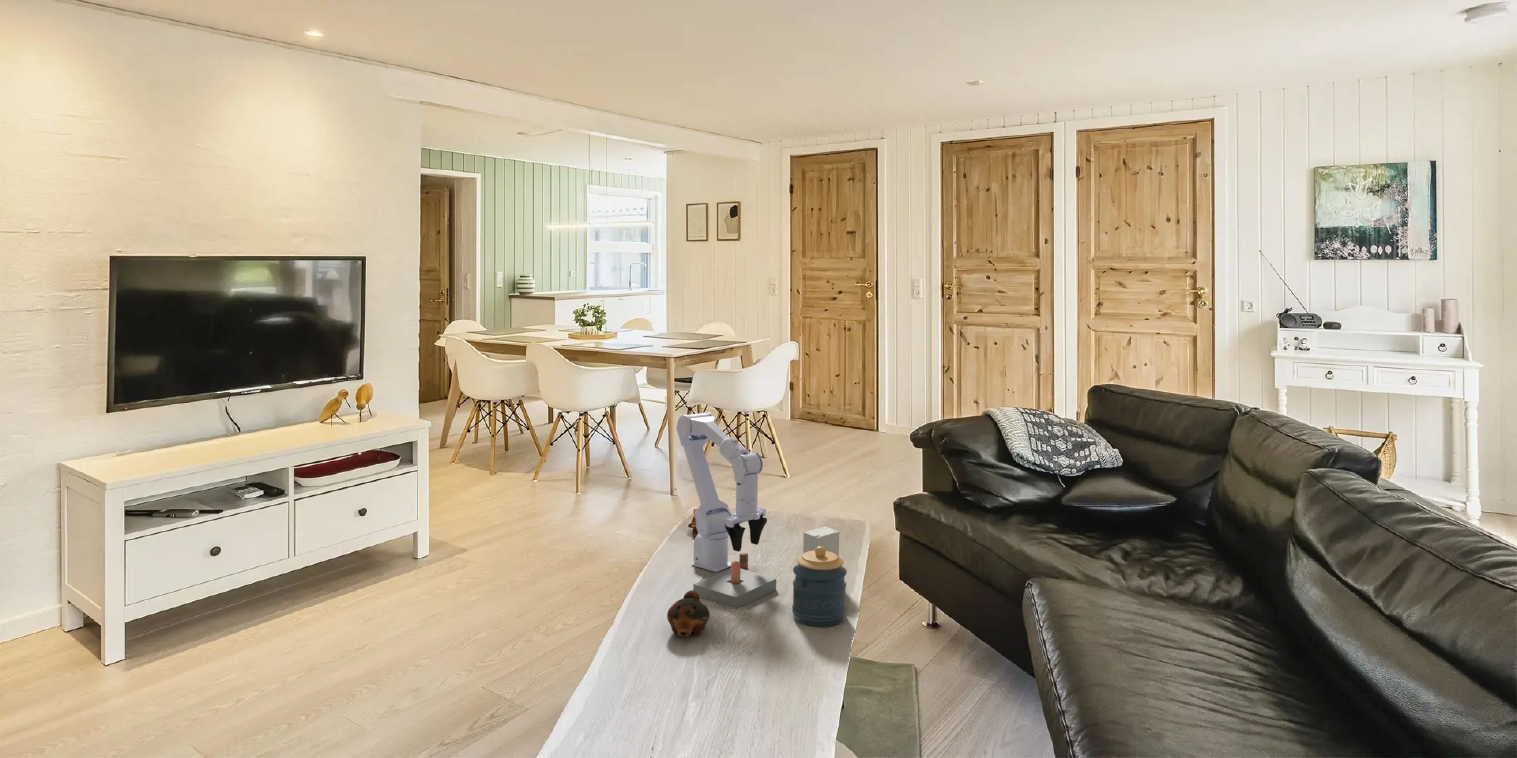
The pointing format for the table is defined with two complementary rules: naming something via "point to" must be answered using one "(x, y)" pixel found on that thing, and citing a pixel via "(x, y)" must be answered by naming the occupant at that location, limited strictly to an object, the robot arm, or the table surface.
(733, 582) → the long pin
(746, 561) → the short pin
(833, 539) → the skincare box
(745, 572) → the hole plate
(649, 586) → the table surface
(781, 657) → the table surface
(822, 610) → the canister
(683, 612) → the decorative turtle
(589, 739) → the table surface
